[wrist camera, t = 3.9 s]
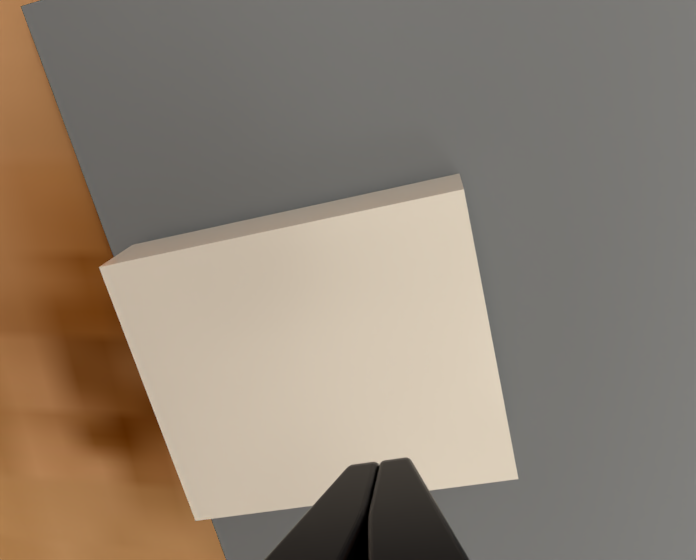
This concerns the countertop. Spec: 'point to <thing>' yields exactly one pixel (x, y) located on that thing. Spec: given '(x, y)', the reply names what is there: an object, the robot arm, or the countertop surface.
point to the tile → (317, 348)
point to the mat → (482, 202)
